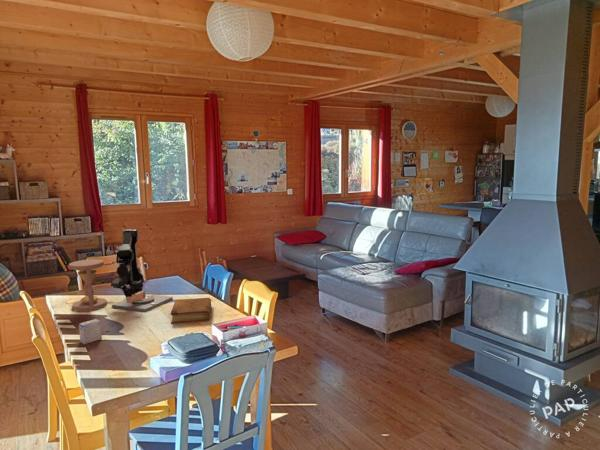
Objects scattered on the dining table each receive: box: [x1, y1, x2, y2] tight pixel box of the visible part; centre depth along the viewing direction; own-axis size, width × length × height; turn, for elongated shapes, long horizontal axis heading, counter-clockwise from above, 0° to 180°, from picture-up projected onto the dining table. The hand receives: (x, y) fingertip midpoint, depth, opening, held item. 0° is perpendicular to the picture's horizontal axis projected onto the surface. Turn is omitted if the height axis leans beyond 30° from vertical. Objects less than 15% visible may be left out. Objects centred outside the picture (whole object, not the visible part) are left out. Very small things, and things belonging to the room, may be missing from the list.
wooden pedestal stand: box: [68, 258, 108, 312], centre depth 243 cm, size 18×18×25 cm
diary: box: [170, 297, 212, 325], centre depth 228 cm, size 23×19×6 cm
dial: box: [127, 290, 155, 304], centre depth 246 cm, size 17×12×5 cm
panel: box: [111, 294, 174, 313], centre depth 249 cm, size 23×23×2 cm
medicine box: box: [78, 318, 103, 345], centre depth 196 cm, size 8×4×9 cm, turn 141°
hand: (128, 299), depth 242 cm, fingers closed
